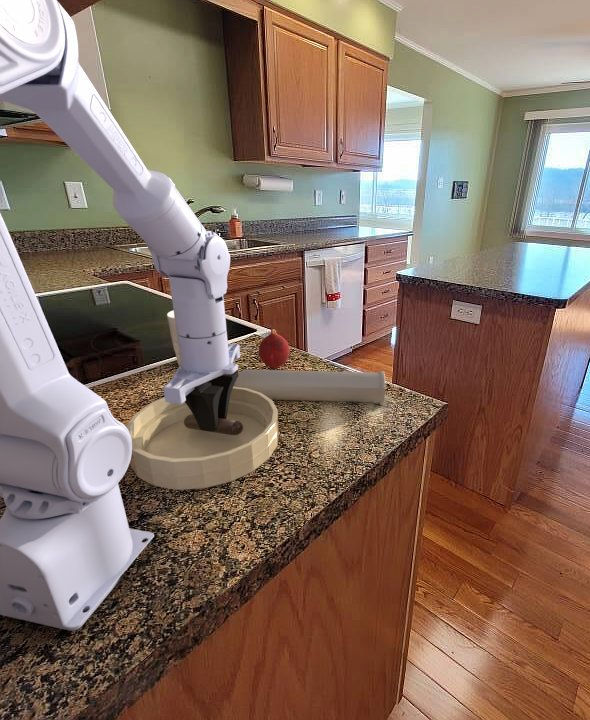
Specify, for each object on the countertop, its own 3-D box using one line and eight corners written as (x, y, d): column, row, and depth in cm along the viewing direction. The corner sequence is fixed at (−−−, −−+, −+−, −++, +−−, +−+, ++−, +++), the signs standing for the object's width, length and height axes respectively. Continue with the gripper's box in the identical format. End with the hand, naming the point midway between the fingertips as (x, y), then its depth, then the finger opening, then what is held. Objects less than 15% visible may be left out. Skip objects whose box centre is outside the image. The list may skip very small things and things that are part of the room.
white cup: (181, 354, 81) (174, 306, 78) (221, 354, 82) (216, 307, 78) (168, 370, 74) (160, 318, 70) (211, 369, 75) (206, 319, 71)
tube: (225, 384, 61) (385, 388, 62) (233, 361, 65) (384, 365, 66) (231, 407, 65) (383, 410, 66) (239, 384, 69) (382, 387, 70)
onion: (295, 371, 76) (294, 332, 73) (266, 377, 73) (264, 337, 70) (283, 360, 81) (281, 323, 78) (255, 366, 78) (252, 327, 75)
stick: (246, 431, 55) (245, 418, 54) (239, 439, 53) (238, 426, 52) (190, 423, 56) (188, 410, 55) (181, 430, 54) (179, 418, 53)
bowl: (242, 505, 44) (239, 472, 42) (95, 480, 46) (86, 448, 44) (296, 420, 60) (295, 394, 59) (186, 405, 63) (182, 379, 61)
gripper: (199, 355, 42) (212, 461, 47) (257, 317, 55) (262, 403, 60) (139, 348, 43) (158, 452, 48) (210, 312, 56) (219, 397, 61)
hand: (213, 424), depth 54 cm, fingers closed on stick, 2 cm apart
